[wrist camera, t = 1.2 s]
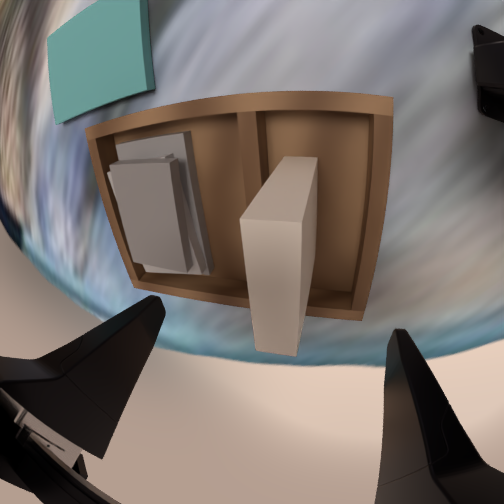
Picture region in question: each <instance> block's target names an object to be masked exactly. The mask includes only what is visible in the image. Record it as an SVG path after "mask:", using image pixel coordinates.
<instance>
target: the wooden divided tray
mask: <svg viewBox="0 0 504 504" xmlns="http://www.w3.org/2000/svg"><path fill="white" fill-rule="evenodd" d="M190 130H191V137H192V144H193V151H194V157H195V164H196V170H197V176H198V182H199V188H200V194H201V200H202V206H203V211H204V217H205V222H206V228H207V233H208V238H209V244H210V249H211V254H212V259H213V264H214V269H213V270H212V272H211V274H210V275H204V274H202V275H198V274H175V273H155V272H146V271H145V269H144V266H143V264H140V263H136V262H133V259H132V255H131V252H130V249H129V245H128V242H127V238H126V235H125V231H124V227H123V224H122V220H121V216H120V212H119V208H118V203H117V200H116V197H115V195H114V192H113V189H112V186H111V183H110V180H109V177H108V174H107V173H108V172H109V171H110V166H109V165H111V164H113V163H115V162H117V161H119V159H118V154H117V150H116V145H117V144H119V143H122V142H125V141H130V140H134V139H140V138H145V137H150V136H156V135H162V134H168V133H175V132H182V131H190ZM85 132H86V137H87V142H88V146H89V151H90V155H91V159H92V164H93V168H94V172H95V176H96V179H97V183H98V187H99V190H100V194H101V197H102V201H103V204H104V207H105V210H106V214H107V217H108V220H109V223H110V226H111V229H112V232H113V235H114V237H115V240H116V243H117V246H118V249H119V251H120V254H121V257H122V259H123V262H124V264H125V267H126V269H127V272H128V274H129V277H130V279H131V282H132V284H133V286H134V288H138V289H143V290H148V291H152V292H157V293H162V294H168V295H173V296H178V297H184V298H189V299H195V300H200V301H206V302H212V303H218V304H224V305H231V306H237V307H244V308H250V301H249V293H248V285H247V277H246V269H245V260H244V252H243V244H242V235H241V227H240V218H241V216H242V215H243V213H244V212H245V210H246V209H247V208H248V206H249V205H250V203H251V202H252V201H253V199H254V198H255V196H256V195H257V193H258V192H259V191H260V189H261V188H262V186H263V185H264V184H265V182H266V181H267V179H268V178H269V177H270V175H271V174H272V173H273V171H274V170H275V168H276V167H277V166H278V164H279V163H280V162H281V160H282V159H283V157H284V156H293V157H318V189H317V228H316V250H315V260H314V267H313V273H312V279H311V285H310V291H309V296H308V302H307V307H306V313H305V316H314V317H324V318H334V319H345V320H357V321H362V319H363V315H364V311H365V308H366V304H367V300H368V296H369V292H370V288H371V284H372V280H373V275H374V271H375V266H376V262H377V257H378V252H379V246H380V241H381V235H382V230H383V224H384V217H385V210H386V203H387V195H388V187H389V177H390V167H391V154H392V136H393V97H387V96H379V95H371V94H361V93H348V92H330V91H277V92H259V93H246V94H236V95H227V96H218V97H211V98H204V99H198V100H192V101H186V102H181V103H176V104H171V105H166V106H161V107H157V108H153V109H148V110H144V111H140V112H137V113H133V114H129V115H126V116H122V117H119V118H115V119H112V120H109V121H106V122H103V123H100V124H97V125H94V126H91V127H88V128H85Z"/></svg>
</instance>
